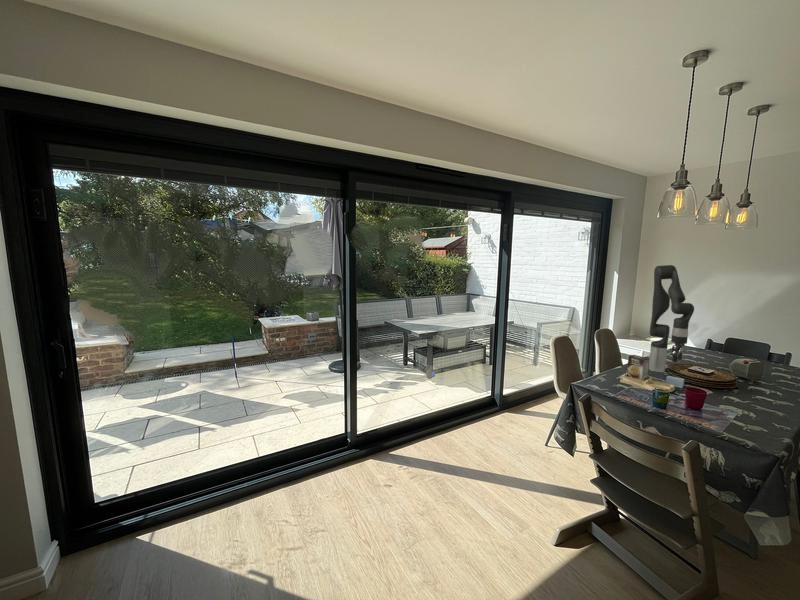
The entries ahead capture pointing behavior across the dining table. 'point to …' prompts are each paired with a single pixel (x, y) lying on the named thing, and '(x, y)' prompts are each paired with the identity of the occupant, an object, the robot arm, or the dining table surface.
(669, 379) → the wing block
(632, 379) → the jig
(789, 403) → the dining table surface
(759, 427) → the dining table surface
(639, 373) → the coffee box
